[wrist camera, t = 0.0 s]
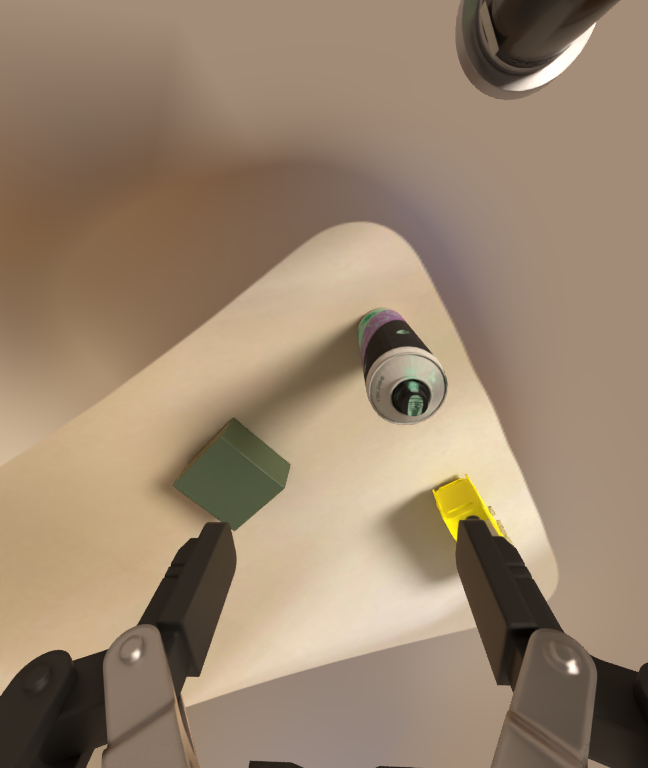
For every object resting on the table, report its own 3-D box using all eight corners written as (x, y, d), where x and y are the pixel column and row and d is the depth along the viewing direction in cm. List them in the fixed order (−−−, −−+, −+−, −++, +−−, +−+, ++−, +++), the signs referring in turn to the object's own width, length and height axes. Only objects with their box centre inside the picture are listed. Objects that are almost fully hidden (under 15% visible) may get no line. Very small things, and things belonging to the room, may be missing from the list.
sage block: (233, 417, 45) (220, 436, 40) (290, 464, 47) (284, 488, 42) (188, 462, 48) (172, 485, 43) (244, 505, 50) (234, 531, 45)
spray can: (391, 298, 38) (435, 345, 20) (414, 339, 40) (475, 419, 21) (348, 323, 40) (352, 391, 21) (372, 363, 41) (395, 458, 23)
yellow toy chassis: (516, 548, 50) (548, 603, 42) (479, 563, 52) (503, 619, 44) (467, 468, 46) (493, 513, 38) (428, 486, 47) (445, 534, 39)
